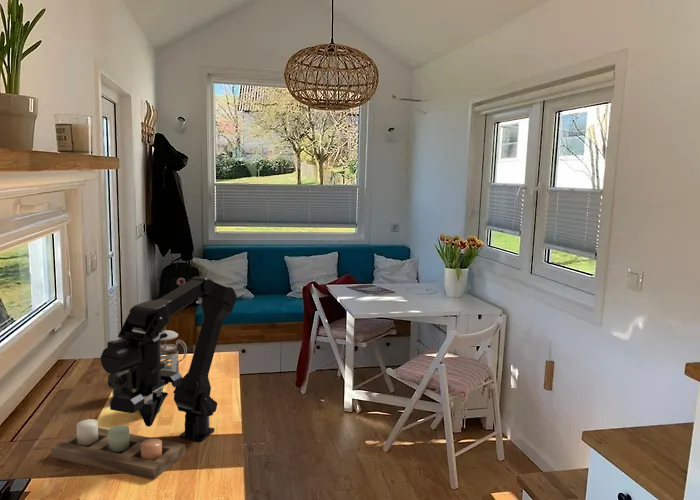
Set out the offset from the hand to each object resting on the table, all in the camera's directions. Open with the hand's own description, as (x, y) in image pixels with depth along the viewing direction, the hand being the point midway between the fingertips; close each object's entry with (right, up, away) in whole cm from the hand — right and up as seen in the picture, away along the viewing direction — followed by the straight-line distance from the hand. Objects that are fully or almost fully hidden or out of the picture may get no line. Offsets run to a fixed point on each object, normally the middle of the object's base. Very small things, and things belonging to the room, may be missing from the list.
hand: (148, 425), depth 129 cm
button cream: (-17, -6, +6) cm, 19 cm away
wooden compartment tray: (-8, -8, +4) cm, 12 cm away
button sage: (-8, -6, +4) cm, 11 cm away
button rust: (0, -9, +1) cm, 9 cm away
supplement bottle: (-20, -4, +36) cm, 42 cm away
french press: (-13, -1, +55) cm, 57 cm away
